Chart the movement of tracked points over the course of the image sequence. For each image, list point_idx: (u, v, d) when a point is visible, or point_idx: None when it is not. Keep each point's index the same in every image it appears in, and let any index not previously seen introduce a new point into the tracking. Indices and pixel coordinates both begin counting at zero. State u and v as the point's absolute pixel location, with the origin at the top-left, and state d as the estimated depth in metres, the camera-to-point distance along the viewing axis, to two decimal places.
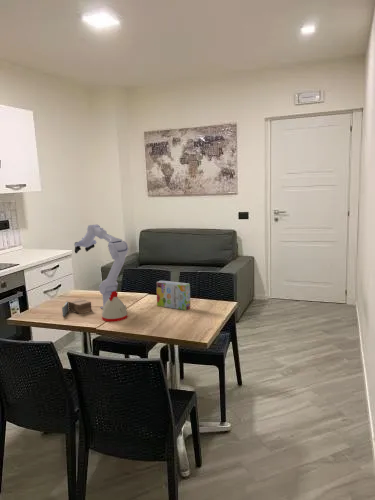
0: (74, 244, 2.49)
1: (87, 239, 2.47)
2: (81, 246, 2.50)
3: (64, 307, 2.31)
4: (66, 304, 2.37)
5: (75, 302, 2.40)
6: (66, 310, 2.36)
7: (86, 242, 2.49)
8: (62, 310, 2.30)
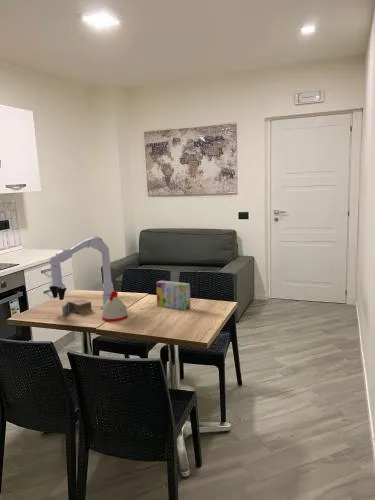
0: (62, 287, 2.31)
1: (59, 273, 2.33)
2: (63, 284, 2.35)
3: (64, 307, 2.31)
4: (66, 304, 2.37)
5: (75, 302, 2.40)
6: (66, 310, 2.36)
7: (61, 277, 2.36)
8: (62, 310, 2.30)
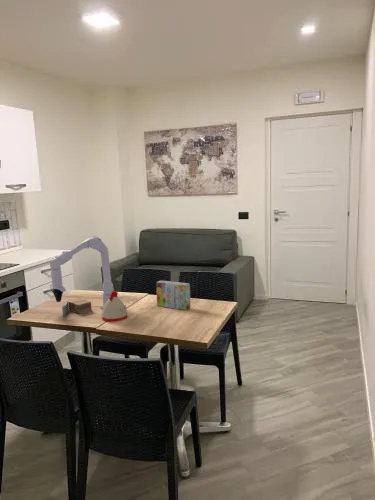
0: (62, 290, 2.31)
1: (59, 276, 2.34)
2: (63, 287, 2.35)
3: (64, 307, 2.31)
4: (66, 304, 2.37)
5: (75, 302, 2.40)
6: (66, 310, 2.36)
7: (61, 280, 2.36)
8: (62, 310, 2.30)
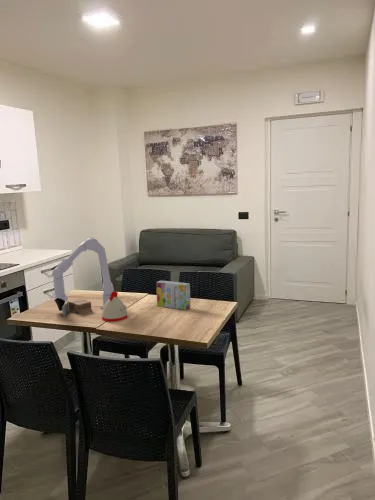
0: (65, 299, 2.31)
1: (61, 285, 2.34)
2: None
3: (64, 307, 2.31)
4: (66, 304, 2.37)
5: (75, 302, 2.40)
6: (66, 310, 2.36)
7: None
8: (62, 310, 2.30)
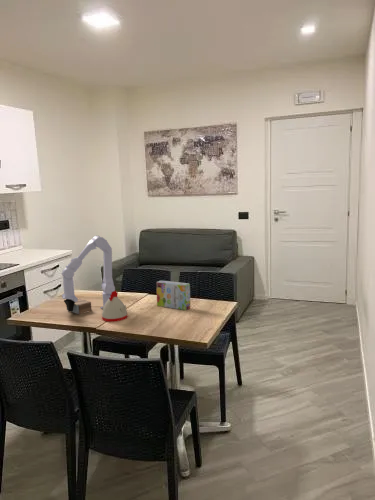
0: (75, 300, 2.28)
1: (72, 286, 2.31)
2: None
3: None
4: None
5: (75, 302, 2.40)
6: None
7: (73, 290, 2.33)
8: (77, 308, 2.33)
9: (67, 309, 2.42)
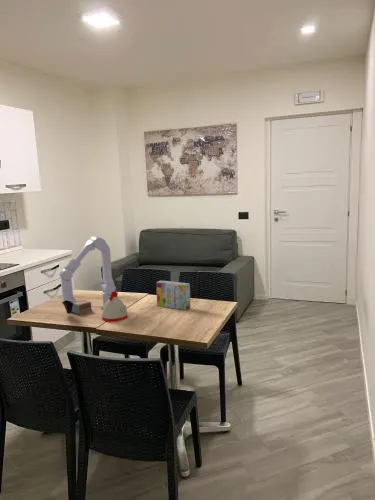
0: (73, 302, 2.25)
1: (71, 287, 2.29)
2: (74, 299, 2.30)
3: (77, 305, 2.35)
4: None
5: None
6: None
7: (72, 291, 2.30)
8: (77, 308, 2.34)
9: None
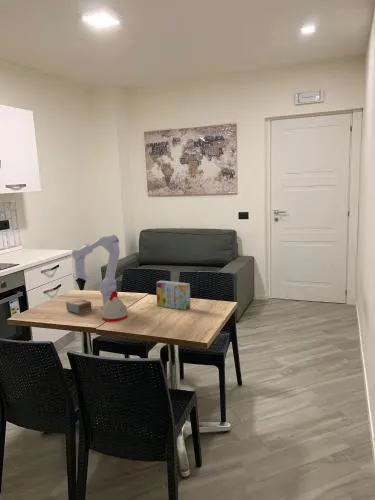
0: (86, 279, 2.45)
1: (79, 267, 2.47)
2: (86, 277, 2.49)
3: (77, 305, 2.35)
4: (72, 303, 2.39)
5: (75, 302, 2.40)
6: None
7: (84, 270, 2.50)
8: (77, 308, 2.34)
9: (67, 309, 2.42)
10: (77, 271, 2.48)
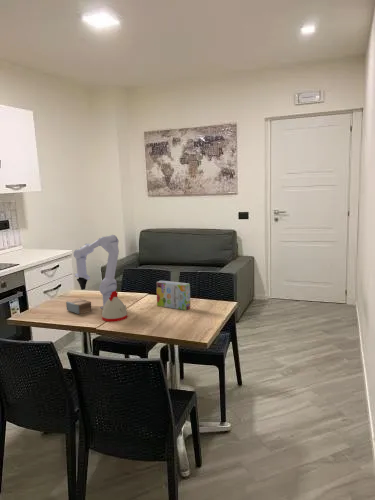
0: (87, 278, 2.47)
1: (80, 266, 2.48)
2: (88, 276, 2.51)
3: (77, 305, 2.35)
4: (72, 303, 2.39)
5: (75, 302, 2.40)
6: None
7: None
8: (77, 308, 2.34)
9: (67, 309, 2.42)
10: (78, 270, 2.49)
